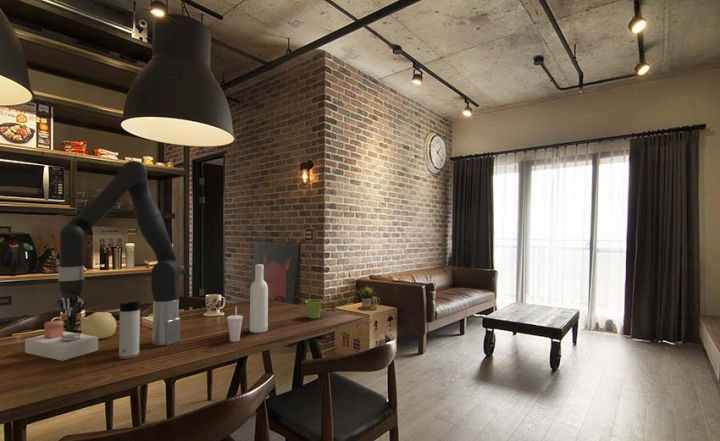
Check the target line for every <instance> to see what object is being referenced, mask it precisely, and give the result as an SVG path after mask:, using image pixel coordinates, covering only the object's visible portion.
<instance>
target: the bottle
mask: <svg viewBox="0 0 720 441" xmlns="http://www.w3.org/2000/svg"><path fill="white" fill-rule="evenodd" d="M264 266H265V265H264V264H258V263H257V264H255V266H254V269H255V270H254V271H255V273H254V274H255V278H254V281H253V282H251V285H250V292H249V296H250V299H249V302H250V303H249V304H250V305H249V308H250V310H249V332H250V333H254V334H259V333H260V334H261V333H265V332H267V331H268V326H269V323H268V318H269V316H268V312H269V306H268V305H269V304H268V303H269V286H268V284H267V282H266V281H265V280H264V269H265V267H264Z"/></svg>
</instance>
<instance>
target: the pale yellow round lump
mask: <svg viewBox="0 0 720 441" xmlns="http://www.w3.org/2000/svg"><path fill="white" fill-rule="evenodd" d="M80 324H81V325H80V330H82V333H83V335H89V336H95V337H98V340H102V339H107V338H109V337H111V336H113V335H114V333H115V332H116V329H117V320H116V318H115V317H114V316H113V315H112V313H110V312H108V311H104V312H103V311H98V312H96V311H95V312H94V313H92V314H90V315H88V316H86V317H84V318H82V319H81V320H80Z"/></svg>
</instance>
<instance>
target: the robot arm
mask: <svg viewBox="0 0 720 441" xmlns="http://www.w3.org/2000/svg"><path fill="white" fill-rule="evenodd" d="M127 191H128V193H129V196H130V198H131V201H132V206H133V212H134V216H135V218H136V219H135V220H136V222H137V225H138V228H139V231H140V233H141V235H142V237H143V238H144V240H145V241H146V243H147V244H148V246H150V248H151V249H152V251H153V253H154V255H155V258H156V262H157V263H155V264H154V265H153V267H152V269H151V274H150V275H151V276H150V286H151V289H150V290H151V295H152V298H153V299H152V301H153V302H152V305H153V306H152V307H153V308H152V310H153V311H152V315H153V316H152V345H154V346H169V345H172V344H176V343H178V342H181V317H179V314H180V313H179V306H180V305H179V303H180V302H179V301H180V300H179V299H180V293H179V291H178V290H177V288H176V287H177V286H176V285H177V284H176V282H177V280H178V279H179V278H181V276H182V273H183V272H182V271H183V269H182V266H181V263H180V261H179V259H178V257H177V255H176V252H175V251H174V248H173V245H172V243H171V239H170V236H169V233H168V230H167V226H166V224H165V221H164V219H163V215H162V212H161V210H160V208H159V207H158V205H157V203H156V201H155V199H154V198H153V196H152V192H151V189H150V186H149V181H148V171H147V167H146V166H145V164H143V163H142V162H141V161H137V160H130V161H127V162H124V164H123V165H122V166H121V167H120V170H118V172H117V173H116V175H115V176H114V177H113V178H112V180H111V181H110V182H109V183H108V184H107V185H106V187H105V188H103V190H102V191H100V192H99V193H98V195H97V196H95V197H94V198H93V199H92V200H90V202H89V203H88V204H87V205H86V206H84V207H83V209H82V210H80V212H79V213H78V214H77V216H75V217H74V218H73V219H72V220H71V221H69V222H68V223H67V224H66V225H65V226H63V227H62V228H61V229H60V232H59V243H60V247H59V248H60V253H59V271H58V293H60V294H61V298H60V299H58V300H57V301H56V303H57V304H58V307H59V309H60V311H61V313H62V314H63V315H65V316H66V326H67V327H74V326H76V324H77V315H79V314H81V312H82V311H83V310H84V307H85V305H86V304H87V301H86V300H83V299H82V298H83V297H82V293H81V292H83V291H84V290H85V268H84V243H85V236H86V235H87V233H89V231H91V230H92V228H94V226H96V225H98V224H99V223H100V222H101V221H102V220H103V219H104V218H105V217H106V216H107V215H108V214H109V213H110V212H111V211H112V209H113V208H114V207H115V206H116V204H117V203H118V202H119V201H120V199H121V198H122V197H123V195H125V193H127Z"/></svg>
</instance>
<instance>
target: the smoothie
mask: <svg viewBox="0 0 720 441" xmlns="http://www.w3.org/2000/svg"><path fill="white" fill-rule="evenodd" d="M234 311H235V315H229V316H227V317H226V320H227V325H228V335H229V341H230V342H239V341H240V338H241V331H242V323H243V320H244V316H243V315H241V314H238V306H237V305H235V310H234Z"/></svg>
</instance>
